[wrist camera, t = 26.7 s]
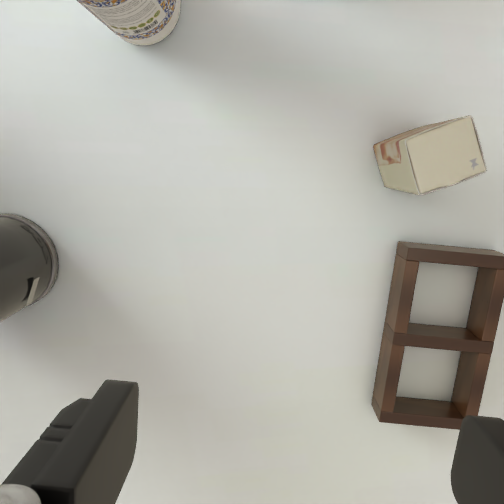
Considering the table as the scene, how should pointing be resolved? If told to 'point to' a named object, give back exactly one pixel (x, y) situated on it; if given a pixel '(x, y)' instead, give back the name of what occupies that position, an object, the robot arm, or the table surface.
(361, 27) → the table surface
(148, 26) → the bath foam
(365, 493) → the table surface
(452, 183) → the cream cardboard box
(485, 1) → the table surface
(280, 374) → the table surface
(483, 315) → the holder
